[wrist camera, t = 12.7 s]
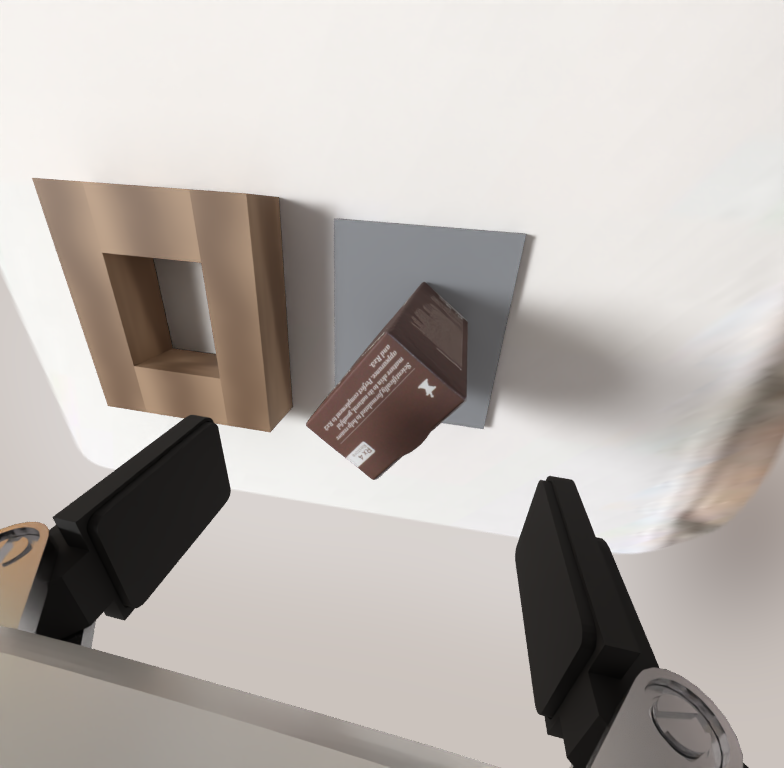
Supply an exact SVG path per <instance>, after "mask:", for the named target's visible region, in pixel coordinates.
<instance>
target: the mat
mask: <svg viewBox="0 0 784 768" xmlns="http://www.w3.org/2000/svg"><path fill="white" fill-rule="evenodd" d="M525 237H526V234H523V233H510V232H498V231H485V230H473V229H460V228H448V227H435V226H423V225H411V224H398V223H386V222H373V221H361V220H348V219H334V268H335V387H336V385H337V384H338V383H339V382H340V381H341V379H342V378H343V377H344V376H345V375H346V373H347V372H348V371H349V370H350V368H351V367H352V366H353V364H354V363H355V362H356V361H357V359H358V358H359V357H360V356H361V355H362V353H363V352H364V351H365V350H366V348H367V347H368V346H369V345H370V343H371V342H372V341H373V340H374V339H375V338H376V336H377V335H378V334H379V333H380V332H381V330H382V329H383V328H384V327H385V326H386V324H387V323H388V322H389V321H390V320H391V319H392V318H393V316H394V315H395V314H396V313H397V312H398V310H399V309H400V308H401V307H402V306H403V305H404V303H405V302H406V301H407V300H408V299H409V298H410V296H411V295H412V294H413V293H414V292H415V290H416V289H417V288H418V287H419V286H420V284H421V283H422V282H426V283H427V284H428V285H429V286H430V287H431V288H432V289H433V290H434V291H435V292H437V293H438V294H439V295H440V296H441V297H442V298H443V299H444V300H445V301H447V302H448V303H449V304H450V305H451V306H452V307H453V308H454V309H455V310H456V311H458V312H459V313H460V314H461V315H462V316H463V317H464V318H465V319H466V320H467V321H468V345H467V347H468V349H467V401H466V402H465V403H464V404H463V405H461V406H460V407H459V408H458V409H457V410H456V411H454V412H453V413H452V414H451V415H450V416H449V417H447V418H446V419H445V420H444V421H443V422H442V423H446V424H453V425H459V426H466V427H473V428H479V429H484V425H485V420H486V415H487V411H488V406H489V402H490V397H491V393H492V388H493V384H494V379H495V374H496V370H497V365H498V361H499V356H500V352H501V347H502V342H503V338H504V333H505V329H506V324H507V320H508V315H509V310H510V306H511V301H512V297H513V292H514V288H515V283H516V278H517V274H518V269H519V265H520V260H521V256H522V251H523V246H524V242H525Z"/></svg>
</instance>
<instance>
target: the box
mask: <svg viewBox="0 0 784 768" xmlns="http://www.w3.org/2000/svg"><path fill="white" fill-rule="evenodd" d="M467 345H468V321H467V320H466V319H465V318H464V317H463V316H462V315H461V314H460V313H459V312H458V311H456V310H455V309H454V308H453V307H452V306H451V305H450V304H449V303H448V302H447V301H445V300H444V299H443V298H442V297H441V296H440V295H439V294H438V293H437V292H435V291H434V290H433V289H432V288H431V287H430V286H429V285H428V284H427V283H426V282H422V283H421V284H420V286H419V287H418V288H417V289H416V290H415V292H414V293H413V294H412V295H411V296H410V298H409V299H408V300H407V301H406V302H405V303H404V305H403V306H402V307H401V308H400V309H399V310H398V312H397V313H396V314H395V315H394V316H393V318H392V319H391V320H390V321H389V322H388V323H387V324H386V326H385V327H384V328H383V329H382V330H381V332H380V333H379V334H378V335H377V336H376V338H375V339H374V340H373V341H372V342H371V343H370V345H369V346H368V347H367V348H366V350H365V351H364V352H363V353H362V355H361V356H360V357H359V358H358V359H357V361H356V362H355V363H354V364H353V366H352V367H351V368H350V370H349V371H348V372H347V373H346V375H345V376H344V377H343V378H342V379H341V381H340V382H339V383H338V384H337V385H336V387H335V388H334V389H333V390H332V391H331V392H330V394H329V395H328V396H327V397H326V399H325V400H324V401H323V402H322V404H321V405H320V406H319V407H318V409H317V410H316V411H315V412H314V414H313V415H312V416H311V417H310V419H309V420H308V422H307V423H306V426H307V427H308V428H309V429H311V430H312V431H313V432H314V433H315V434H317V435H318V436H319V437H320V438H321V439H323V440H324V441H325V442H326V443H327V444H329V445H330V446H331V447H333V448H334V449H335V450H336V451H338V452H339V453H340V454H341V455H343V456H344V457H345V458H346V459H348V460H349V461H350V462H351V463H353V464H354V465H355V466H356V467H358V468H359V469H360V470H361V471H363V472H364V473H365V474H366V475H367V476H368V477H370V478H371V479H372V480H375V479H378V478H379V477H380V476H381V475H382V474H383V473H384V472H386V471H387V470H388V469H389V468H390V467H391V466H392V465H393V464H395V463H396V462H397V461H398V460H399V459H400V458H401V457H402V456H404V455H406V454H408V453H410V452H412V451H413V450H414V449H416V448H417V447H418V446H420V445H421V444H422V443H423V441H424V440H425V439H426V438H427V436H428V435H429V434H430V432H431V431H432V430H433V429H435V428H436V427H437V426H438V425H439V424H440V423H442V422H443V421H444V420H445V419H446V418H447V417H449V416H450V415H451V414H452V413H453V412H454V411H456V410H457V409H458V408H459V407H460V406H461V405H463V404H464V403H465V402H466V401H467V349H468V347H467Z"/></svg>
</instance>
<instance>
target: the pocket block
mask: <svg viewBox="0 0 784 768" xmlns="http://www.w3.org/2000/svg"><path fill="white" fill-rule="evenodd" d="M32 179H33V182H34V185H35V188H36V191H37V194H38V197H39V200H40V203H41V206H42V209H43V212H44V215H45V218H46V221H47V224H48V227H49V230H50V233H51V236H52V239H53V242H54V245H55V248H56V251H57V254H58V257H59V260H60V263H61V266H62V269H63V272H64V275H65V278H66V281H67V284H68V287H69V290H70V293H71V296H72V299H73V302H74V305H75V308H76V311H77V314H78V317H79V320H80V323H81V326H82V329H83V332H84V335H85V338H86V341H87V344H88V347H89V350H90V353H91V356H92V359H93V362H94V365H95V368H96V371H97V374H98V377H99V380H100V383H101V386H102V389H103V392H104V395H105V398H106V401H107V404H108V406H112V407H118V408H124V409H130V410H136V411H143V412H149V413H155V414H161V415H167V416H173V417H179V418H186V417H187V416H189V415H198V416H203V417H209V418H211V419H212V420H213V421H214V423H216V424H222V425H229V426H235V427H241V428H247V429H253V430H259V431H265V432H271V431H272V430H273V429H274V428H275V426H276V425H277V424H278V423H279V422H280V421H281V420H282V418H283V417H284V416H285V415H286V414H287V413H288V412H289V411H290V409H291V408H292V407H293V405H292V390H291V374H290V359H289V344H288V329H287V313H286V298H285V283H284V267H283V252H282V237H281V222H280V206H279V197H272V196H263V195H254V194H245V193H231V192H218V191H204V190H190V189H177V188H163V187H149V186H136V185H122V184H109V183H95V182H81V181H68V180H54V179H40V178H32ZM153 258H160V259H169V260H179V261H189V262H199V263H201V265H202V271H203V277H204V283H205V289H206V295H207V301H208V308H209V314H210V320H211V326H212V332H213V338H214V344H215V350H216V354H211V353H203V352H196V351H189V350H181V349H174V348H173V347H172V342H171V338H170V333H169V329H168V324H167V320H166V315H165V311H164V306H163V302H162V297H161V293H160V288H159V283H158V279H157V274H156V270H155V265H154V261H153Z"/></svg>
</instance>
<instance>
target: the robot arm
mask: <svg viewBox="0 0 784 768" xmlns="http://www.w3.org/2000/svg"><path fill="white" fill-rule="evenodd" d="M230 491H231V490H230V484H229V479H228V474H227V469H226V464H225V459H224V454H223V449H222V444H221V439H220V434H219V430H218V426H217V425H216V424H215V423H214V421H213V420H212V419H211V418H209V417H203V416H198V415H189V416H187V417H186V418H184V419H183V420H182V421H180V422H179V423H178V424H176V425H175V426H174V427H172V428H171V429H170V430H168V431H167V432H166V433H164V434H163V435H162V436H160V437H159V438H158V439H156V440H155V441H154V442H152V443H151V444H150V445H148V446H147V447H146V448H144V449H143V450H142V451H140V452H139V453H138V454H136V455H135V456H134V457H132V458H131V459H130V460H128V461H127V462H126V463H124V464H123V465H122V466H120V467H119V468H118V469H116V470H115V471H114V472H112V473H111V474H110V475H108V476H107V477H106V478H104V479H103V480H102V481H100V482H99V483H98V484H96V485H95V486H94V487H92V488H91V489H90V490H89V491H87V492H86V493H84V494H83V495H82V496H80V497H79V498H78V499H76V500H75V501H74V502H72V503H71V504H70V505H69V506H67V507H66V508H64V509H63V510H62V511H60V512H59V513H58V514H56V515H55V516H54V517H53V519H54V521H55V523H56V525H55V526H54V527H53V528H51V529H50V530H49V529H48V528H47V526H46V525H45V524H42V523H39V522H25V523H19V524H14V525H12V526H8V527H6V528H3V529H0V768H499V767H496V766H493V765H490V764H487V763H484V762H480V761H477V760H474V759H471V758H467V757H464V756H461V755H458V754H455V753H452V752H448V751H445V750H442V749H439V748H436V747H433V746H429V745H426V744H422V743H419V742H416V741H412V740H409V739H405V738H402V737H398V736H395V735H392V734H388V733H385V732H382V731H378V730H374V729H371V728H368V727H364V726H361V725H358V724H354V723H351V722H347V721H344V720H340V719H337V718H334V717H330V716H327V715H323V714H320V713H317V712H313V711H309V710H306V709H303V708H299V707H296V706H292V705H289V704H285V703H281V702H278V701H275V700H271V699H268V698H264V697H261V696H257V695H254V694H250V693H247V692H243V691H240V690H236V689H233V688H230V687H226V686H223V685H219V684H215V683H212V682H209V681H205V680H201V679H198V678H195V677H191V676H188V675H184V674H181V673H177V672H173V671H170V670H166V669H162V668H159V667H156V666H152V665H148V664H145V663H141V662H137V661H134V660H130V659H127V658H124V657H120V656H116V655H113V654H109V653H106V652H102V651H99V650H95V649H91V646H92V641H93V634H94V628H95V622H96V619H97V618H98V617H99V616H100V615H101V614H102V613H103V612H104V613H105V615H106V616H110V617H114V618H117V619H121V620H126V618H127V617H128V616H129V615H130V614H131V612H132V611H133V610H134V609H135V608H138V607H140V606H141V605H143V604H144V602H145V601H146V600H147V599H148V598H149V597H150V595H151V594H152V593H153V592H154V591H155V589H156V588H157V587H158V585H159V584H160V583H161V582H162V581H163V579H164V578H165V577H166V576H167V574H168V573H169V572H170V571H171V570H172V568H173V567H174V566H175V565H176V564H177V562H178V561H179V560H180V558H181V557H182V556H183V555H184V554H185V552H186V551H187V550H188V549H189V548H190V546H191V545H192V544H193V543H194V541H195V540H196V539H197V538H198V536H199V535H200V534H201V533H202V532H203V530H204V529H205V528H206V527H207V525H208V524H209V523H210V522H211V520H212V519H213V518H214V517H215V516H216V514H217V513H218V512H219V511H220V509H221V508H222V507H223V506H224V504H225V503H226V502H227V500H228V498H229V496H230ZM515 561H516V569H517V576H518V584H519V591H520V598H521V605H522V612H523V620H524V627H525V635H526V642H527V649H528V657H529V663H530V671H531V678H532V686H533V693H534V700H535V706H536V710H537V712H538V714H540V715H543V716H545V722H546V728H547V734H548V735H552V736H555V737H559V738H563V739H564V744H565V750H566V756H567V758H568V760H569V761H570V762H571V764H572V765H571V767H570V768H748V767H747V766H746V765H745V764H744V763H743V754H742V751H741V748H740V745H739V742H738V739H737V736H736V735H735V733H734V731H733V729H732V728H731V726H730V724H729V722H728V721H727V719H726V717H725V716H724V715H723V714H722V712H721V711H720V710H719V709H718V707H717V706H716V705H715V704H714V702H713V701H712V700H711V699H710V698H709V697H707V696H706V695H705V694H704V693H703V692H702V691H701V690H700V689H699V688H698V687H697V686H695V685H694V684H692V683H691V682H689V681H688V680H687V679H685V678H684V677H682V676H680V675H678V674H676V673H673V672H671V671H669V670H667V669H660V668H659V666H658V664H657V661H656V659H655V656H654V654H653V652H652V649H651V647H650V644H649V642H648V640H647V637H646V635H645V632H644V630H643V627H642V625H641V623H640V621H639V618H638V615H637V613H636V611H635V609H634V606H633V604H632V601H631V599H630V596H629V594H628V592H627V589H626V587H625V584H624V582H623V580H622V577H621V575H620V572H619V570H618V568H617V565H616V563H615V560H614V558H613V556H612V553H611V551H610V548H609V547H608V545H607V543H606V542H605V541H604V540H603V539H601V538H597V537H595V534H594V531H593V529H592V526H591V524H590V521H589V519H588V516H587V513H586V511H585V508H584V506H583V503H582V501H581V498H580V496H579V493H578V490H577V488H576V485H575V483H574V481H573V480H570V479H565V478H559V477H553V476H548V477H547V479H546V481H543V480H540V481H539V483H538V485H537V488H536V491H535V494H534V497H533V500H532V503H531V506H530V509H529V512H528V515H527V517H526V520H525V523H524V526H523V529H522V532H521V535H520V538H519V541H518V544H517V547H516V553H515Z"/></svg>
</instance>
